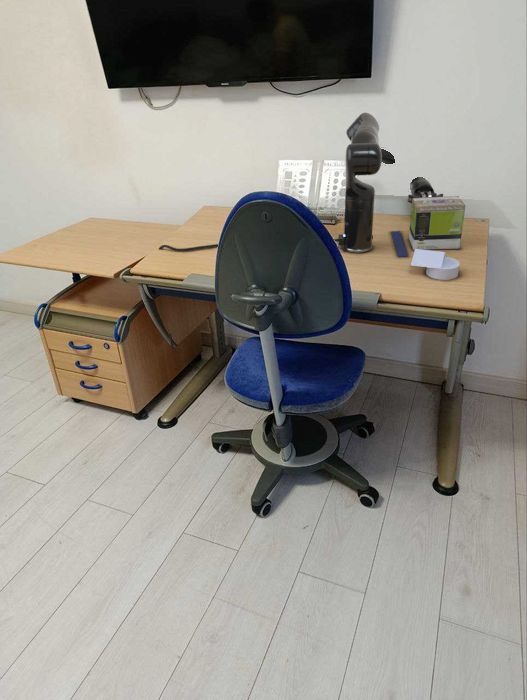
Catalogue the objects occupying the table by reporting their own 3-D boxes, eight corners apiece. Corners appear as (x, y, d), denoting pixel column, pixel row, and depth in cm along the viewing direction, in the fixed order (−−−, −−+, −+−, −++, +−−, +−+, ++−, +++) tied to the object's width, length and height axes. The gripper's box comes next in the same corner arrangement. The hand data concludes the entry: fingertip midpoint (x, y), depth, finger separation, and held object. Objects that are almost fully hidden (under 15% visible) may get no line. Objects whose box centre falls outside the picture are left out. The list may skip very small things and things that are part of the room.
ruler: (398, 256, 162) (398, 255, 161) (391, 232, 180) (391, 231, 180) (407, 256, 161) (407, 255, 161) (399, 232, 179) (399, 231, 179)
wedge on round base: (409, 275, 150) (455, 281, 145) (412, 254, 146) (459, 259, 141) (415, 263, 156) (459, 269, 151) (418, 243, 153) (463, 247, 148)
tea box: (453, 238, 172) (459, 195, 163) (459, 249, 163) (466, 204, 155) (407, 239, 173) (412, 196, 165) (412, 250, 165) (416, 206, 157)
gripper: (438, 200, 191) (447, 215, 176) (402, 201, 192) (408, 216, 178) (441, 180, 187) (450, 194, 172) (404, 181, 188) (410, 195, 174)
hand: (429, 205), depth 175 cm, fingers closed
